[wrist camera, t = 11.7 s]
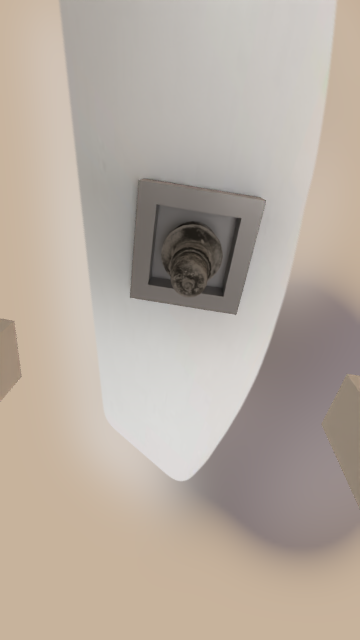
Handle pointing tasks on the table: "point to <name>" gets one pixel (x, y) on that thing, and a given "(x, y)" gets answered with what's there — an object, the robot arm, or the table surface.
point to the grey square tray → (200, 206)
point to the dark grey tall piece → (191, 257)
